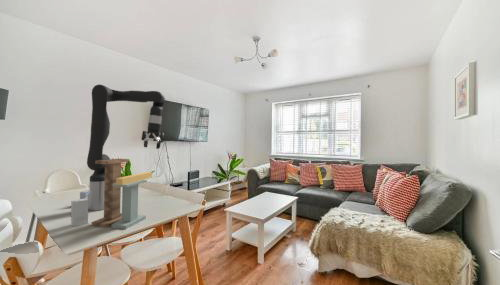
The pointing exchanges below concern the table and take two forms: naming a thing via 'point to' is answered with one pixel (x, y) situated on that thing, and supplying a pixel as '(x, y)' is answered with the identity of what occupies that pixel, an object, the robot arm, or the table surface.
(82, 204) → the skincare box
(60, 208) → the table surface
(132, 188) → the slate pedestal
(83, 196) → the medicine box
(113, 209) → the walnut stand
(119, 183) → the ochre bar
